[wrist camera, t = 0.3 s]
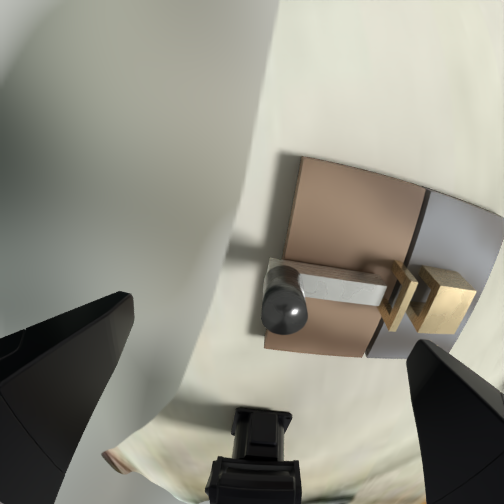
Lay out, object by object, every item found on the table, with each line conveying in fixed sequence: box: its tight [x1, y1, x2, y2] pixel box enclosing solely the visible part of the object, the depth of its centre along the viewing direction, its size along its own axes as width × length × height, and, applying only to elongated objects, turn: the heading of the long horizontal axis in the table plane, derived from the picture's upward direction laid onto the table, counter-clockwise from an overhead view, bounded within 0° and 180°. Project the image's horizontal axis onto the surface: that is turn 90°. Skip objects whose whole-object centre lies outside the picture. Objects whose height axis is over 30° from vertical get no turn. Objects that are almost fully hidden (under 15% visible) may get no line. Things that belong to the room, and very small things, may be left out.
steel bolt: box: [261, 258, 387, 335], centre depth 17 cm, size 2×8×5 cm, turn 82°
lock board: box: [264, 156, 504, 359], centre depth 20 cm, size 15×19×2 cm
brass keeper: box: [377, 260, 477, 334], centre depth 18 cm, size 4×7×3 cm, turn 82°
